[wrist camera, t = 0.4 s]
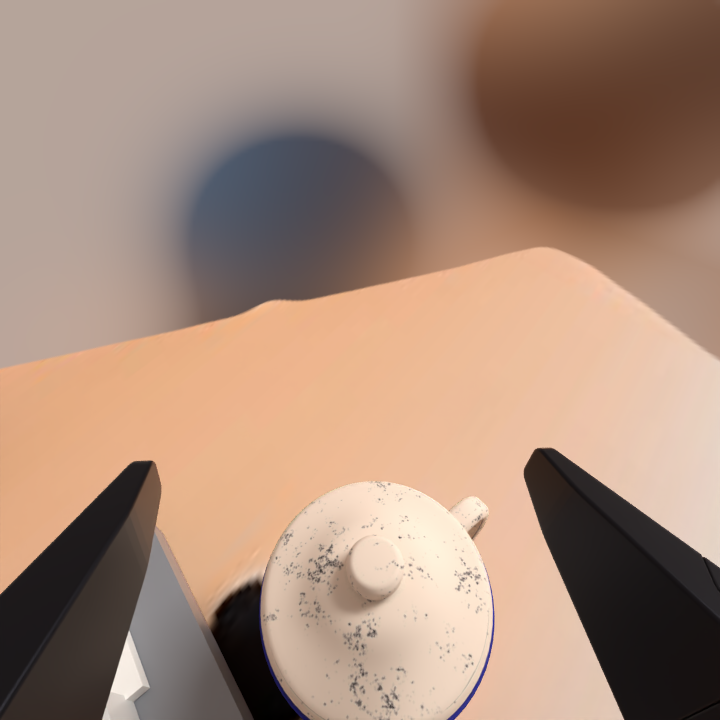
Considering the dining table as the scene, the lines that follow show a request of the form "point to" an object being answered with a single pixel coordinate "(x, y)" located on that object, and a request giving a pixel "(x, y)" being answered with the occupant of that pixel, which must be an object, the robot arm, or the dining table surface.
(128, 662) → the panel
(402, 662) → the teacup with lid
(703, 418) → the dining table surface
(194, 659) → the socket plate
